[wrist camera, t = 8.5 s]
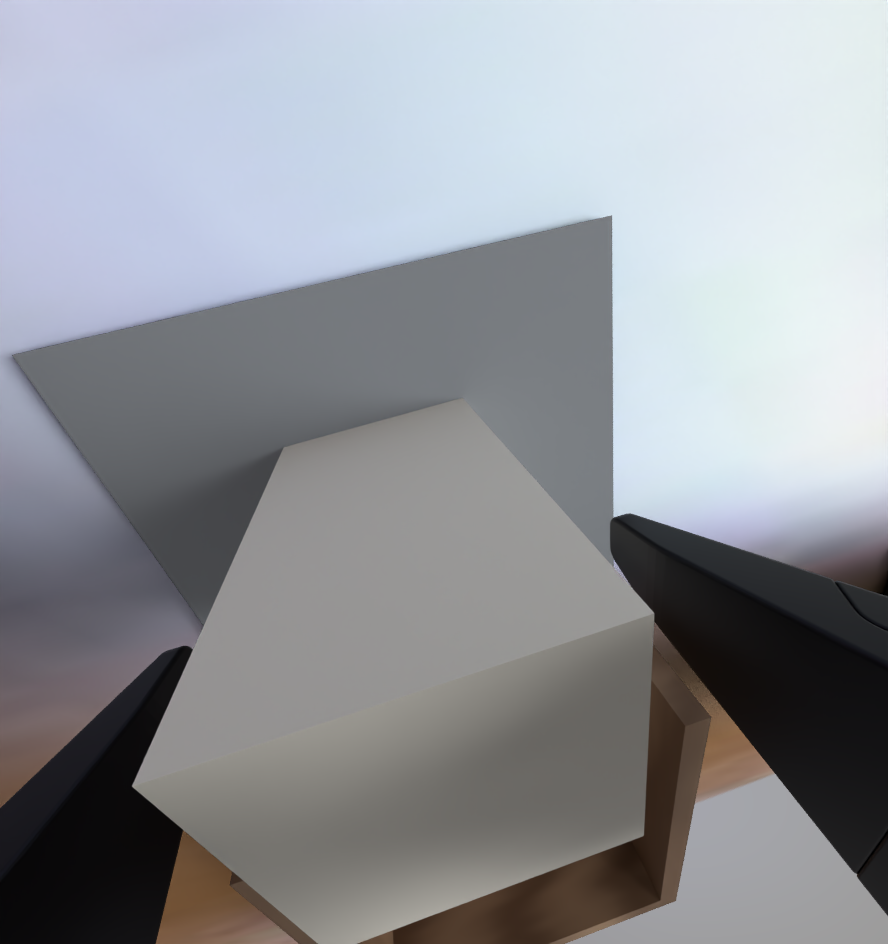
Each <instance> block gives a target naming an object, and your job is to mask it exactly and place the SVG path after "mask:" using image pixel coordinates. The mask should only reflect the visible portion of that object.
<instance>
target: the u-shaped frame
mask: <svg viewBox="0 0 888 944" xmlns="http://www.w3.org/2000/svg"><path fill="white" fill-rule="evenodd" d="M710 721H711V716H710V715H709V714H708V713H707V711H706V710H705V709H704V708H703V707H702V705H701V704H700V703H699V702H698V700H697V699H696V698H695V697H694V695H693V694H692V693H691V692H690V690H689V689H688V688H687V687H686V686H685V684H684V683H683V682H682V681H681V679H680V678H679V677H678V676H677V674H676V673H675V672H674V671H673V669H672V668H671V667H670V666H669V664H668V663H667V662H666V661H665V660H664V658H663V657H662V656H661V655H660V653H659V652H658V651H657V650H656V648H655V647H654V646H653V654H652V675H651V696H650V717H649V738H648V759H647V780H646V801H645V822H644V836H642V837H640V838H637V839H634V840H632V841H629V842H626V843H624V844H621V845H618V846H616V847H613V848H610V849H608V850H605V851H602V852H600V853H597V854H594V855H592V856H589V857H586V858H584V859H581V860H578V861H576V862H573V863H570V864H568V865H565V866H562V867H560V868H557V869H554V870H552V871H549V872H546V873H544V874H541V875H538V876H536V877H533V878H530V879H528V880H525V881H522V882H520V883H517V884H515V885H512V886H509V887H507V888H504V889H501V890H499V891H496V892H493V893H491V894H488V895H485V896H483V897H480V898H477V899H475V900H472V901H469V902H467V903H464V904H461V905H459V906H456V907H453V908H451V909H448V910H445V911H443V912H440V913H437V914H435V915H432V916H429V917H427V918H424V919H421V920H419V921H416V922H413V923H411V924H408V925H405V926H403V927H400V928H397V929H395V930H392V931H389V932H387V933H384V934H381V935H379V936H376V937H373V938H371V939H368V940H365V941H363V942H360V943H357V944H565V943H568V942H570V941H573V940H576V939H578V938H581V937H583V936H586V935H588V934H591V933H594V932H596V931H599V930H602V929H604V928H607V927H609V926H612V925H614V924H617V923H620V922H622V921H625V920H627V919H630V918H633V917H635V916H638V915H640V914H643V913H645V912H648V911H651V910H653V909H656V908H658V907H661V906H664V905H666V904H669V903H671V902H674V901H676V897H677V892H678V887H679V881H680V876H681V871H682V866H683V861H684V856H685V850H686V845H687V840H688V835H689V830H690V824H691V819H692V814H693V809H694V804H695V799H696V794H697V788H698V783H699V778H700V773H701V768H702V762H703V757H704V752H705V747H706V742H707V737H708V731H709V726H710ZM230 886H231V887H232V888H233V889H234V890H236V891H237V892H238V893H239V894H240V895H242V896H243V897H244V898H245V899H246V900H248V901H249V902H250V903H251V904H252V905H254V906H255V907H256V908H257V909H258V910H260V911H261V912H262V913H263V914H264V915H266V916H267V917H268V918H269V919H270V920H272V921H273V922H274V923H275V924H276V925H278V926H279V927H280V928H281V929H282V930H283V931H285V932H286V933H287V934H288V935H289V936H291V937H292V938H293V939H294V940H295V941H297V942H298V943H299V944H318V943H316V942H315V941H314V940H313V939H312V938H311V937H309V936H308V935H307V934H306V933H305V932H303V931H302V930H301V929H300V928H299V927H298V926H296V925H295V924H294V923H293V922H292V921H290V920H289V919H288V918H287V917H286V916H285V915H283V914H282V913H281V912H280V911H279V910H277V909H276V908H275V907H274V906H273V905H272V904H270V903H269V902H268V901H267V900H266V899H264V898H263V897H262V896H261V895H260V894H259V893H257V892H256V891H255V890H254V889H253V888H251V887H250V886H249V885H248V884H247V883H246V882H244V881H243V880H242V879H241V878H240V877H238V876H237V875H236V874H235V873H234V872H232V876H231V881H230Z"/></svg>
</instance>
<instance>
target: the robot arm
mask: <svg viewBox="0 0 888 944" xmlns="http://www.w3.org/2000/svg"><path fill="white" fill-rule="evenodd" d="M610 550H611V554H612V556H613V558H614V560H615V562H616V563H617V565H618V566H619V568H620V569H621V571H622V573H623V574H624V576H625V577H626V579H627V580H628V582H629V584H630V585H631V587H632V588H633V590H634V591H635V592H636V593H637V594H638V595H639V597H640V598H641V599H642V600H643V601H644V602H645V603H646V604H647V606H648V607H649V608H650V609H651V610H652V611H653V612H654V621H655V623H656V624H657V625H658V627H659V628H660V629H661V631H662V632H663V633H664V634H665V636H666V637H667V638H668V639H669V641H670V642H671V643H672V644H673V646H674V647H675V648H676V649H677V651H678V652H679V653H680V655H681V656H682V657H683V658H684V660H685V661H686V662H687V663H688V665H689V666H690V667H691V668H692V670H693V671H694V672H695V673H696V675H697V676H698V677H699V678H700V680H701V681H702V682H703V683H704V685H705V686H706V687H707V688H708V690H709V691H710V692H711V694H712V695H713V696H714V697H715V699H716V700H717V701H718V702H719V704H720V705H721V706H722V707H723V709H724V710H725V711H726V712H727V714H728V715H729V716H730V717H731V719H732V720H733V721H734V722H735V724H736V725H737V726H738V727H739V729H740V730H741V731H742V732H743V734H744V735H745V736H746V738H747V739H748V740H749V741H750V743H751V744H752V745H753V746H754V748H755V749H756V750H757V751H758V753H759V754H760V755H761V756H762V758H763V759H764V760H765V761H766V763H767V764H768V765H769V766H770V768H771V769H772V770H773V771H774V773H775V774H776V775H777V776H778V778H779V779H780V780H781V781H782V783H783V784H784V785H785V787H786V788H787V789H788V790H789V792H790V793H791V794H792V795H793V797H794V798H795V799H796V800H797V802H798V803H799V804H800V805H801V807H802V808H803V809H804V810H805V812H806V813H807V814H808V816H809V817H810V818H811V819H812V821H813V822H814V823H815V824H816V826H817V827H818V828H819V829H820V831H821V832H822V833H823V834H824V836H825V837H826V838H827V839H828V840H829V842H830V843H831V844H832V845H833V847H834V848H835V849H836V851H837V852H838V853H839V855H840V856H841V857H842V858H843V859H844V861H845V862H846V863H847V865H848V866H849V867H850V868H851V870H852V871H853V872H854V873H856V874H857V877H858V879H859V880H860V881H861V883H862V884H863V885H864V887H865V888H866V889H867V890H868V891H869V893H870V894H871V895H872V897H873V898H874V899H875V900H876V902H877V903H878V904H879V905H880V906H881V908H882V909H883V910H884V912H885V913H886V914H887V915H888V587H887V589H886V591H885V594H884V595H881V594H878V593H875V592H872V591H868V590H865V589H862V588H859V587H856V586H853V585H850V584H847V583H844V582H841V581H835V582H834V581H833V580H832V579H831V578H828V577H825V576H822V575H819V574H816V573H813V572H809V571H806V570H803V569H800V568H797V567H794V566H791V565H788V564H785V563H782V562H779V561H776V560H772V559H769V558H766V557H763V556H760V555H757V554H754V553H751V552H748V551H745V550H742V549H739V548H736V547H732V546H729V545H726V544H723V543H720V542H717V541H714V540H711V539H708V538H705V537H702V536H699V535H695V534H692V533H689V532H686V531H683V530H680V529H677V528H674V527H671V526H668V525H665V524H662V523H658V522H655V521H652V520H649V519H646V518H643V517H640V516H637V515H634V514H624V515H621V516H618V517H614V518H613V519H612V520H611V521H610ZM192 651H193V650H192V649H191V648H190V647H188V646H181V647H178V648H175V649H171V650H168V651H166V652H164V653H162V654H161V655H160V656H159V657H158V658H157V659H156V660H155V661H154V662H153V663H152V664H150V665H149V666H148V667H147V668H146V669H145V670H144V671H143V672H142V673H141V674H140V675H139V676H138V677H137V678H136V679H135V680H134V681H133V682H132V683H131V684H130V685H129V686H127V687H126V688H125V689H124V690H123V691H122V692H121V693H120V694H119V695H118V696H117V697H116V698H115V699H114V700H113V701H112V702H111V703H110V704H109V705H108V706H107V707H106V708H104V709H103V710H102V711H101V712H100V713H99V714H98V715H97V716H96V717H95V718H94V719H93V720H92V721H91V722H90V723H89V724H88V725H87V726H86V727H85V728H84V729H83V730H81V731H80V732H79V733H78V734H77V735H76V736H75V737H74V738H73V739H72V740H71V741H70V742H69V743H68V744H67V745H66V746H65V747H64V748H63V749H62V750H61V751H60V752H58V753H57V754H56V755H55V756H54V757H53V758H52V759H51V760H50V761H49V762H48V763H47V764H46V765H45V766H44V767H43V768H42V769H41V770H40V771H39V772H38V773H37V774H36V775H34V776H33V777H32V778H31V779H30V780H29V781H28V782H27V783H26V784H25V785H24V786H23V787H22V788H21V789H20V790H19V791H18V792H17V793H16V794H15V795H14V796H13V797H11V798H10V799H9V800H8V801H7V802H6V803H5V804H4V805H3V806H2V807H1V808H0V944H156V940H157V936H158V932H159V927H160V923H161V919H162V915H163V911H164V907H165V903H166V898H167V894H168V890H169V886H170V882H171V878H172V874H173V869H174V865H175V861H176V857H177V853H178V849H179V845H180V840H181V836H182V832H183V829H182V828H180V827H179V826H178V825H177V824H176V823H175V822H173V821H172V820H171V819H170V818H169V817H167V816H166V815H165V814H164V813H163V812H162V811H160V810H159V809H158V808H157V807H156V806H154V805H153V804H152V803H151V802H150V801H149V800H147V799H146V798H145V797H144V796H143V795H141V794H140V793H139V792H138V791H137V790H136V789H134V788H133V787H132V785H133V783H134V781H135V778H136V776H137V774H138V772H139V769H140V767H141V765H142V763H143V761H144V758H145V756H146V754H147V752H148V749H149V747H150V745H151V743H152V740H153V738H154V736H155V734H156V731H157V729H158V727H159V725H160V723H161V720H162V718H163V716H164V714H165V711H166V709H167V707H168V705H169V702H170V700H171V698H172V696H173V694H174V691H175V689H176V687H177V685H178V682H179V680H180V678H181V676H182V673H183V671H184V669H185V667H186V664H187V662H188V660H189V658H190V656H191V653H192Z"/></svg>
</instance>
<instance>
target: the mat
mask: <svg viewBox="0 0 888 944" xmlns="http://www.w3.org/2000/svg"><path fill="white" fill-rule="evenodd" d="M12 356H13V357H14V359H15V360H16V362H17V363H18V364H19V366H20V367H21V369H22V370H23V372H24V373H25V374H26V376H27V377H28V379H29V380H30V381H31V383H32V384H33V386H34V387H35V388H36V390H37V391H38V393H39V394H40V396H41V397H42V398H43V400H44V401H45V403H46V404H47V405H48V407H49V408H50V410H51V411H52V413H53V414H54V415H55V417H56V418H57V420H58V421H59V422H60V424H61V425H62V427H63V428H64V429H65V431H66V432H67V434H68V435H69V437H70V438H71V439H72V441H73V442H74V444H75V445H76V446H77V448H78V449H79V451H80V452H81V453H82V455H83V456H84V458H85V459H86V461H87V462H88V463H89V465H90V466H91V468H92V469H93V470H94V472H95V473H96V475H97V476H98V477H99V479H100V480H101V482H102V483H103V485H104V486H105V487H106V489H107V490H108V492H109V493H110V494H111V496H112V497H113V499H114V500H115V502H116V503H117V504H118V506H119V507H120V509H121V510H122V511H123V513H124V514H125V516H126V517H127V518H128V520H129V521H130V523H131V524H132V526H133V527H134V528H135V530H136V531H137V533H138V534H139V535H140V537H141V538H142V540H143V541H144V542H145V544H146V545H147V547H148V548H149V550H150V551H151V552H152V554H153V555H154V557H155V558H156V559H157V561H158V562H159V564H160V565H161V566H162V568H163V569H164V571H165V572H166V574H167V575H168V576H169V578H170V579H171V581H172V582H173V583H174V585H175V586H176V588H177V589H178V591H179V592H180V593H181V595H182V596H183V598H184V599H185V600H186V602H187V603H188V605H189V606H190V607H191V609H192V610H193V612H194V613H195V615H196V616H197V617H198V619H199V620H200V622H201V623H202V624H203V626H204V624H205V622H206V620H207V618H208V615H209V613H210V611H211V609H212V606H213V604H214V602H215V600H216V597H217V595H218V593H219V591H220V589H221V586H222V584H223V582H224V580H225V577H226V575H227V573H228V571H229V568H230V566H231V564H232V562H233V560H234V557H235V555H236V553H237V551H238V548H239V546H240V544H241V542H242V539H243V537H244V535H245V533H246V530H247V528H248V526H249V524H250V522H251V519H252V517H253V515H254V513H255V510H256V508H257V506H258V504H259V501H260V499H261V497H262V495H263V493H264V490H265V488H266V486H267V484H268V481H269V479H270V477H271V475H272V472H273V470H274V468H275V466H276V463H277V461H278V459H279V457H280V455H281V452H282V450H283V448H284V447H287V446H290V445H294V444H297V443H301V442H305V441H308V440H312V439H316V438H319V437H323V436H326V435H330V434H334V433H337V432H341V431H344V430H348V429H352V428H355V427H359V426H363V425H366V424H370V423H373V422H377V421H381V420H384V419H388V418H391V417H395V416H399V415H402V414H406V413H410V412H413V411H417V410H420V409H424V408H428V407H431V406H435V405H438V404H442V403H446V402H449V401H453V400H456V399H460V398H463V399H464V400H465V401H466V402H467V403H468V405H469V406H470V407H471V408H472V409H473V410H474V411H475V412H476V414H477V415H478V416H479V417H480V418H481V419H482V420H483V421H484V423H485V424H486V425H487V426H488V427H489V428H490V429H491V430H492V432H493V433H494V434H495V435H496V436H497V437H498V438H499V439H500V441H501V442H502V443H503V444H504V445H505V446H506V447H507V448H508V450H509V451H510V452H511V453H512V454H513V455H514V456H515V457H516V458H517V460H518V461H519V462H520V463H521V464H522V465H523V466H524V467H525V469H526V470H527V471H528V472H529V473H530V474H531V475H532V476H533V478H534V479H535V480H536V481H537V482H538V483H539V484H540V485H541V487H542V488H543V489H544V490H545V491H546V492H547V493H548V494H549V496H550V497H551V498H552V499H553V500H554V501H555V502H556V503H557V505H558V506H559V507H560V508H561V509H562V510H563V511H564V512H565V513H566V515H567V516H568V517H569V518H570V519H571V520H572V521H573V522H574V524H575V525H576V526H577V527H578V528H579V529H580V530H581V531H582V533H583V534H584V535H585V536H586V537H587V538H588V539H589V540H590V542H591V543H592V544H593V545H594V546H595V547H596V548H597V549H598V551H599V552H600V553H601V554H602V555H603V556H604V557H605V558H606V560H607V561H608V562H609V563H610V564H611V565H612V566H613V556H612V554H611V550H610V521H611V520H612V519H613V337H612V216H608V217H603V218H599V219H595V220H591V221H586V222H582V223H578V224H573V225H569V226H565V227H560V228H556V229H552V230H548V231H543V232H539V233H535V234H530V235H526V236H522V237H517V238H513V239H509V240H504V241H500V242H496V243H492V244H487V245H483V246H479V247H474V248H470V249H466V250H461V251H457V252H453V253H449V254H444V255H440V256H436V257H431V258H427V259H423V260H418V261H414V262H410V263H406V264H401V265H397V266H393V267H388V268H384V269H380V270H375V271H371V272H367V273H363V274H358V275H354V276H350V277H345V278H341V279H337V280H332V281H328V282H324V283H320V284H315V285H311V286H307V287H302V288H298V289H294V290H289V291H285V292H281V293H276V294H272V295H268V296H264V297H259V298H255V299H251V300H246V301H242V302H238V303H233V304H229V305H225V306H221V307H216V308H212V309H208V310H203V311H199V312H195V313H190V314H186V315H182V316H178V317H173V318H169V319H165V320H160V321H156V322H152V323H147V324H143V325H139V326H135V327H130V328H126V329H122V330H117V331H113V332H109V333H104V334H100V335H96V336H91V337H87V338H83V339H79V340H74V341H70V342H66V343H61V344H57V345H53V346H48V347H44V348H40V349H36V350H31V351H27V352H23V353H18V354H14V355H12Z"/></svg>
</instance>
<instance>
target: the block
mask: <svg viewBox="0 0 888 944" xmlns="http://www.w3.org/2000/svg"><path fill="white" fill-rule="evenodd" d="M653 634H654V612H653V611H652V610H651V609H650V608H649V607H648V606H647V604H646V603H645V602H644V601H643V600H642V599H641V598H640V597H639V595H638V594H637V593H636V592H635V591H634V590H633V589H632V588H631V586H630V585H629V584H628V583H627V582H626V581H625V580H624V579H623V577H622V576H621V575H620V574H619V573H618V572H617V571H616V570H615V568H614V567H613V566H612V565H611V564H610V563H609V562H608V561H607V560H606V558H605V557H604V556H603V555H602V554H601V553H600V552H599V551H598V549H597V548H596V547H595V546H594V545H593V544H592V543H591V542H590V540H589V539H588V538H587V537H586V536H585V535H584V534H583V533H582V531H581V530H580V529H579V528H578V527H577V526H576V525H575V524H574V522H573V521H572V520H571V519H570V518H569V517H568V516H567V515H566V513H565V512H564V511H563V510H562V509H561V508H560V507H559V506H558V505H557V503H556V502H555V501H554V500H553V499H552V498H551V497H550V496H549V494H548V493H547V492H546V491H545V490H544V489H543V488H542V487H541V485H540V484H539V483H538V482H537V481H536V480H535V479H534V478H533V476H532V475H531V474H530V473H529V472H528V471H527V470H526V469H525V467H524V466H523V465H522V464H521V463H520V462H519V461H518V460H517V458H516V457H515V456H514V455H513V454H512V453H511V452H510V451H509V450H508V448H507V447H506V446H505V445H504V444H503V443H502V442H501V441H500V439H499V438H498V437H497V436H496V435H495V434H494V433H493V432H492V430H491V429H490V428H489V427H488V426H487V425H486V424H485V423H484V421H483V420H482V419H481V418H480V417H479V416H478V415H477V414H476V412H475V411H474V410H473V409H472V408H471V407H470V406H469V405H468V403H467V402H466V401H465V400H464V399H463V398H460V399H456V400H453V401H449V402H446V403H442V404H438V405H435V406H431V407H428V408H424V409H420V410H417V411H413V412H410V413H406V414H402V415H399V416H395V417H391V418H388V419H384V420H381V421H377V422H373V423H370V424H366V425H363V426H359V427H355V428H352V429H348V430H344V431H341V432H337V433H334V434H330V435H326V436H323V437H319V438H316V439H312V440H308V441H305V442H301V443H297V444H294V445H290V446H287V447H284V448H283V450H282V452H281V455H280V457H279V459H278V461H277V463H276V466H275V468H274V470H273V472H272V475H271V477H270V479H269V481H268V484H267V486H266V488H265V490H264V493H263V495H262V497H261V499H260V501H259V504H258V506H257V508H256V510H255V513H254V515H253V517H252V519H251V522H250V524H249V526H248V528H247V530H246V533H245V535H244V537H243V539H242V542H241V544H240V546H239V548H238V551H237V553H236V555H235V557H234V560H233V562H232V564H231V566H230V568H229V571H228V573H227V575H226V577H225V580H224V582H223V584H222V586H221V589H220V591H219V593H218V595H217V597H216V600H215V602H214V604H213V606H212V609H211V611H210V613H209V615H208V618H207V620H206V622H205V624H204V627H203V629H202V631H201V633H200V635H199V638H198V640H197V642H196V644H195V647H194V649H193V651H192V653H191V656H190V658H189V660H188V662H187V664H186V667H185V669H184V671H183V673H182V676H181V678H180V680H179V682H178V685H177V687H176V689H175V691H174V694H173V696H172V698H171V700H170V702H169V705H168V707H167V709H166V711H165V714H164V716H163V718H162V720H161V723H160V725H159V727H158V729H157V731H156V734H155V736H154V738H153V740H152V743H151V745H150V747H149V749H148V752H147V754H146V756H145V758H144V761H143V763H142V765H141V767H140V769H139V772H138V774H137V776H136V778H135V781H134V783H133V785H132V787H133V788H134V789H136V790H137V791H138V792H139V793H140V794H141V795H143V796H144V797H145V798H146V799H147V800H149V801H150V802H151V803H152V804H153V805H154V806H156V807H157V808H158V809H159V810H160V811H162V812H163V813H164V814H165V815H166V816H167V817H169V818H170V819H171V820H172V821H173V822H175V823H176V824H177V825H178V826H179V827H180V828H182V829H183V830H184V831H185V832H186V833H188V834H189V835H190V836H191V837H192V838H193V839H195V840H196V841H197V842H198V843H199V844H201V845H202V846H203V847H204V848H205V849H206V850H208V851H209V852H210V853H211V854H212V855H214V856H215V857H216V858H217V859H218V860H219V861H221V862H222V863H223V864H224V865H225V866H227V867H228V868H229V869H230V870H231V871H232V872H234V873H235V874H236V875H237V876H238V877H240V878H241V879H242V880H243V881H244V882H246V883H247V884H248V885H249V886H250V887H251V888H253V889H254V890H255V891H256V892H257V893H259V894H260V895H261V896H262V897H263V898H264V899H266V900H267V901H268V902H269V903H270V904H272V905H273V906H274V907H275V908H276V909H277V910H279V911H280V912H281V913H282V914H283V915H285V916H286V917H287V918H288V919H289V920H290V921H292V922H293V923H294V924H295V925H296V926H298V927H299V928H300V929H301V930H302V931H303V932H305V933H306V934H307V935H308V936H309V937H311V938H312V939H313V940H314V941H315V942H316V943H318V944H357V943H360V942H363V941H365V940H368V939H371V938H373V937H376V936H379V935H381V934H384V933H387V932H389V931H392V930H395V929H397V928H400V927H403V926H405V925H408V924H411V923H413V922H416V921H419V920H421V919H424V918H427V917H429V916H432V915H435V914H437V913H440V912H443V911H445V910H448V909H451V908H453V907H456V906H459V905H461V904H464V903H467V902H469V901H472V900H475V899H477V898H480V897H483V896H485V895H488V894H491V893H493V892H496V891H499V890H501V889H504V888H507V887H509V886H512V885H515V884H517V883H520V882H522V881H525V880H528V879H530V878H533V877H536V876H538V875H541V874H544V873H546V872H549V871H552V870H554V869H557V868H560V867H562V866H565V865H568V864H570V863H573V862H576V861H578V860H581V859H584V858H586V857H589V856H592V855H594V854H597V853H600V852H602V851H605V850H608V849H610V848H613V847H616V846H618V845H621V844H624V843H626V842H629V841H632V840H634V839H637V838H640V837H642V836H644V822H645V801H646V780H647V759H648V738H649V717H650V696H651V675H652V654H653Z"/></svg>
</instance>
